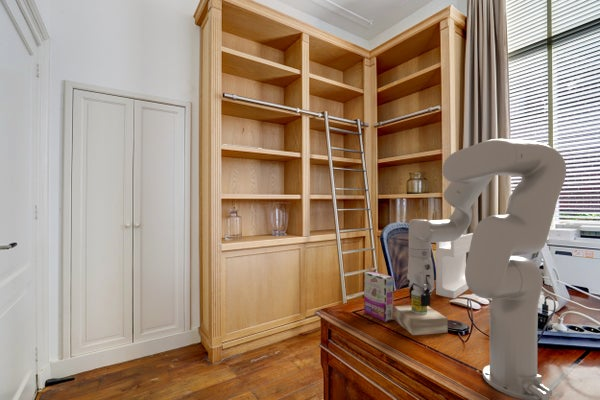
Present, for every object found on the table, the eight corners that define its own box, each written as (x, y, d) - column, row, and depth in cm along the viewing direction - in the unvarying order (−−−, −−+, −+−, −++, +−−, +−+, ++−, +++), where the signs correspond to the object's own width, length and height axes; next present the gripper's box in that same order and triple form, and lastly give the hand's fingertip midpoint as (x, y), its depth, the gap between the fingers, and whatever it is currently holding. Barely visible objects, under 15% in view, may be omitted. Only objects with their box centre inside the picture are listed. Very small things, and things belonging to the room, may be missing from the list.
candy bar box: (394, 319, 109) (394, 276, 109) (385, 322, 107) (385, 278, 107) (372, 310, 119) (372, 270, 119) (363, 312, 116) (363, 272, 116)
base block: (447, 332, 99) (447, 318, 99) (412, 335, 97) (412, 320, 97) (425, 317, 112) (425, 304, 112) (394, 319, 110) (394, 306, 110)
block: (460, 280, 163) (460, 231, 163) (476, 283, 157) (476, 232, 157) (436, 294, 139) (436, 236, 139) (453, 298, 133) (454, 238, 133)
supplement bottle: (428, 310, 105) (428, 284, 105) (426, 315, 101) (426, 288, 101) (412, 308, 108) (412, 282, 108) (410, 312, 103) (410, 286, 103)
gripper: (444, 257, 96) (444, 310, 96) (415, 248, 113) (415, 294, 113) (424, 258, 95) (424, 312, 95) (398, 249, 112) (398, 295, 112)
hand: (419, 301), depth 104 cm, fingers open, 6 cm apart
